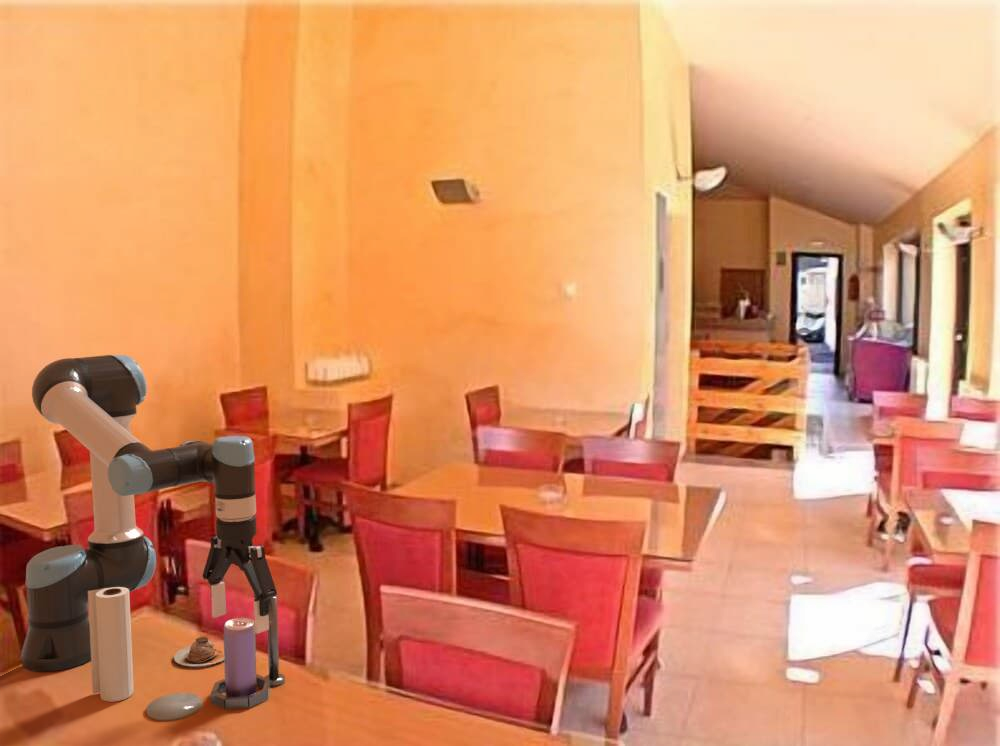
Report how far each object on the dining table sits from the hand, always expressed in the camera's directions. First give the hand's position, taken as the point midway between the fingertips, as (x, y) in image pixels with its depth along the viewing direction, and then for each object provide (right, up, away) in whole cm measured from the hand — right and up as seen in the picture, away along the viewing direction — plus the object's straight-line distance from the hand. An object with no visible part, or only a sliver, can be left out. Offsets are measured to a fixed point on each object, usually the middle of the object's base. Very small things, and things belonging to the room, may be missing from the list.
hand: (240, 623), depth 178 cm
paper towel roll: (-25, -15, +2) cm, 29 cm away
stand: (+1, -15, +4) cm, 15 cm away
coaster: (-12, -15, -3) cm, 20 cm away
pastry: (-14, -14, +20) cm, 28 cm away
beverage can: (0, -15, +2) cm, 15 cm away
